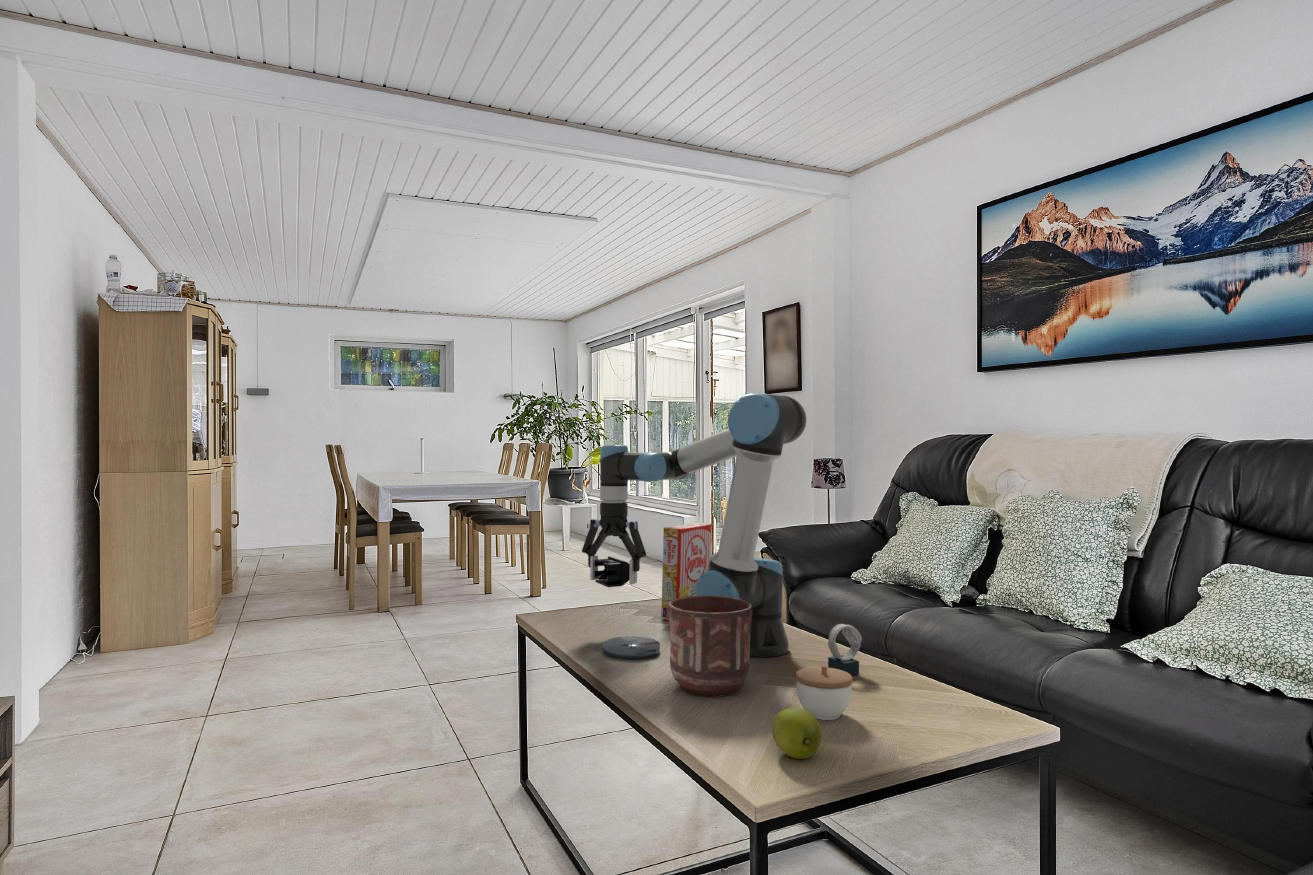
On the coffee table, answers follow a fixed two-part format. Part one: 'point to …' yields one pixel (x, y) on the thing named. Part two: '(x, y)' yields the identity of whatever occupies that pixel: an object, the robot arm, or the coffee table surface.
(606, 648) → the plate
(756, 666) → the coffee table surface
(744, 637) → the pottery
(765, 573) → the robot arm
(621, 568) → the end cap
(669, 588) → the popcorn box
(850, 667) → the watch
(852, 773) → the coffee table surface
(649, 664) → the coffee table surface
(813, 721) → the green lime
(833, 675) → the lidded jar
